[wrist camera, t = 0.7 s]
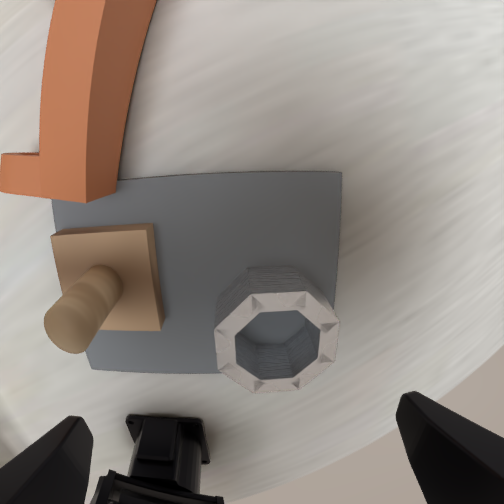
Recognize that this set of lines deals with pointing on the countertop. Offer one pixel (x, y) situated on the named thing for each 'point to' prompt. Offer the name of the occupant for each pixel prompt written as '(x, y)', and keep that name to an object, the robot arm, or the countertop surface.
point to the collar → (274, 355)
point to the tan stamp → (104, 284)
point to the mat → (214, 255)
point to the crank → (82, 101)
